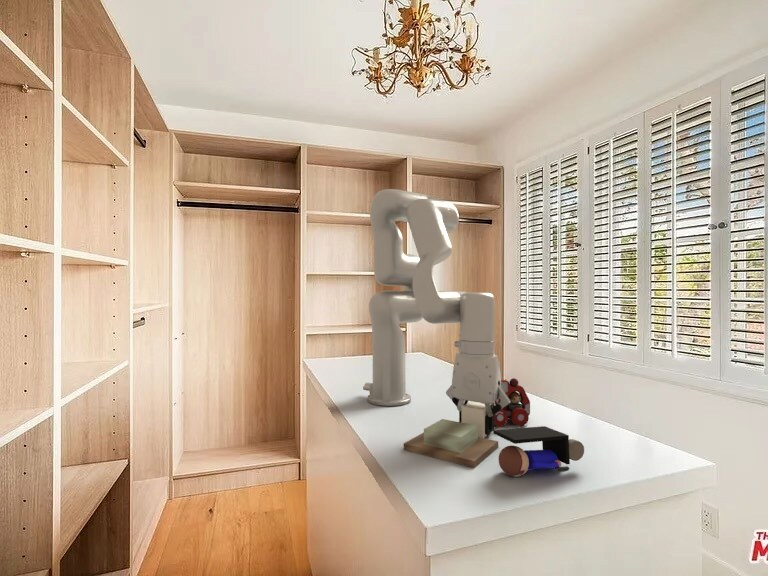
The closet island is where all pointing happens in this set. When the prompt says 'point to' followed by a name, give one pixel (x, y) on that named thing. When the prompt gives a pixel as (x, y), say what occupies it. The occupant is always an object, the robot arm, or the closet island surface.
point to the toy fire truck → (513, 404)
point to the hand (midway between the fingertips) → (476, 429)
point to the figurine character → (553, 451)
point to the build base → (454, 456)
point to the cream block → (475, 416)
